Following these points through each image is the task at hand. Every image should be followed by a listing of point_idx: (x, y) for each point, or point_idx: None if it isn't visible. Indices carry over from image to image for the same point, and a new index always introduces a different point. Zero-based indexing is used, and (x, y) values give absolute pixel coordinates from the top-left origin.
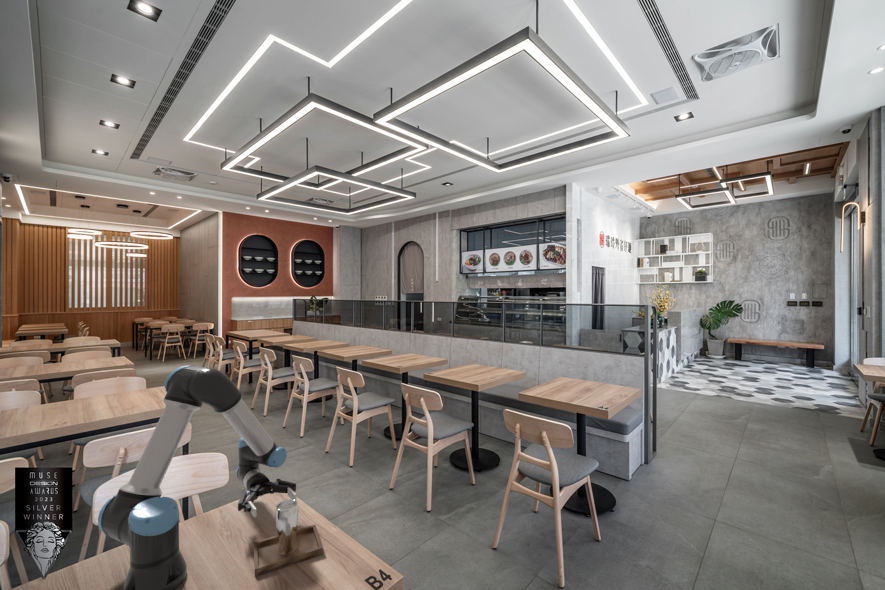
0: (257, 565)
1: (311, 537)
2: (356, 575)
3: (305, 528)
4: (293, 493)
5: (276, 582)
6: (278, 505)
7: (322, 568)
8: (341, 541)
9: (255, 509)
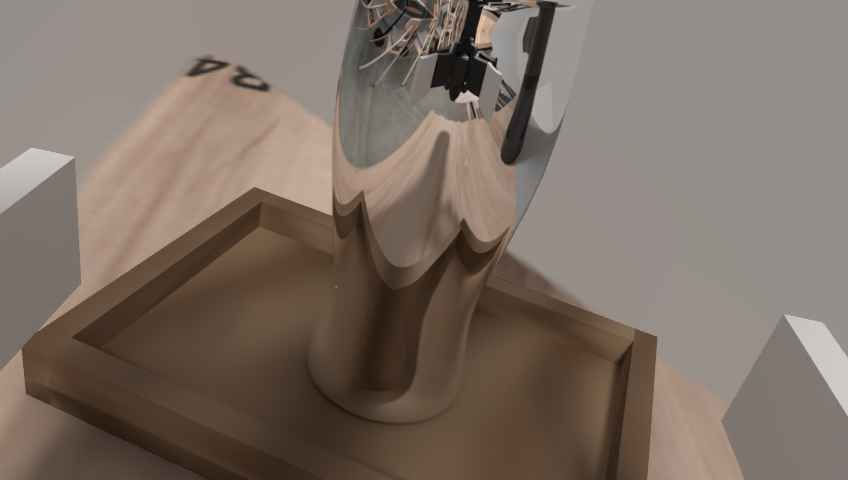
0: (638, 347)
1: (168, 325)
2: (267, 109)
3: (131, 369)
4: (34, 180)
5: (542, 275)
6: (546, 19)
7: (327, 190)
8: (83, 207)
9: (795, 326)
